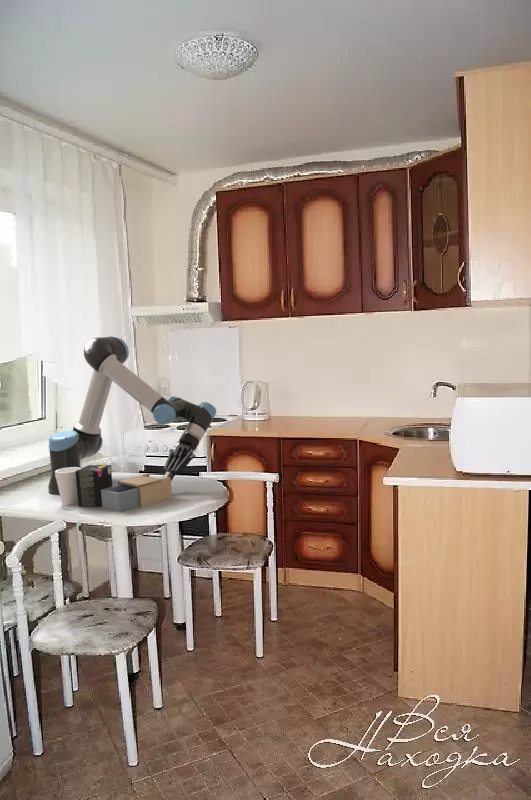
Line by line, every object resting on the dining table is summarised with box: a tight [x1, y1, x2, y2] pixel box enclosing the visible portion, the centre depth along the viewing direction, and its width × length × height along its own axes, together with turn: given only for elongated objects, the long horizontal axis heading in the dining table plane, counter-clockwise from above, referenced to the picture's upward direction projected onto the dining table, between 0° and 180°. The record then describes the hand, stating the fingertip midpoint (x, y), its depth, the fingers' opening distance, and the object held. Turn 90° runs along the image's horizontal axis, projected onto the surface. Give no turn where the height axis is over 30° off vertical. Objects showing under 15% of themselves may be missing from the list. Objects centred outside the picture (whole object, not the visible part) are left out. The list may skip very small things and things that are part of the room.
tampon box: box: [75, 464, 113, 508], centre depth 237 cm, size 11×9×15 cm
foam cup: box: [55, 467, 82, 507], centre depth 242 cm, size 10×9×13 cm
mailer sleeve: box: [117, 473, 173, 508], centre depth 238 cm, size 13×14×9 cm
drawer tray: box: [101, 476, 159, 513], centre depth 235 cm, size 11×22×7 cm, turn 139°
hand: (161, 488), depth 244 cm, fingers closed
